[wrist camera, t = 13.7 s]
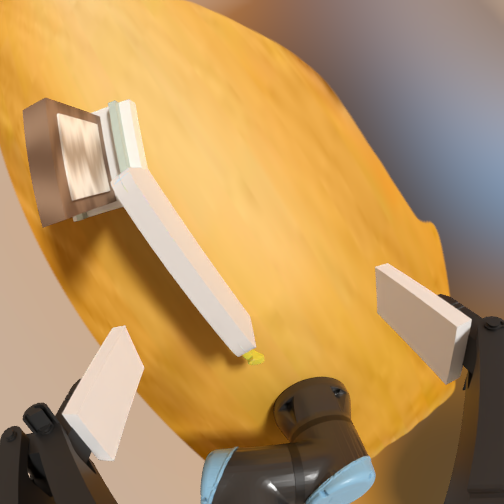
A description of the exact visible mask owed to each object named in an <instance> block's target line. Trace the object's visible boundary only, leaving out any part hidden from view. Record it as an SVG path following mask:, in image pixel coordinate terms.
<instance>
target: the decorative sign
mask: <svg viewBox="0 0 504 504" xmlns="http://www.w3.org/2000/svg"><path fill="white" fill-rule="evenodd" d="M110 183H111V186H112V188H113V190H114V192H115V194H116V195H117V197H118V199H119V200H120V202H121V203H122V205H123V206H124V208H125V209H126V211H127V212H128V214H129V215H130V217H131V218H132V220H133V221H134V223H135V224H136V226H137V227H138V229H139V230H140V232H141V233H142V235H143V236H144V237H145V239H146V240H147V242H148V243H149V245H150V246H151V247H152V249H153V250H154V252H155V253H156V254H157V256H158V257H159V259H160V260H161V261H162V263H163V264H164V266H165V267H166V268H167V270H168V271H169V272H170V274H171V275H172V276H173V278H174V279H175V280H176V282H177V283H178V284H179V286H180V287H181V288H182V290H183V291H184V292H185V294H186V295H187V296H188V298H189V299H190V300H191V301H192V303H193V304H194V305H195V307H196V308H197V309H198V310H199V312H200V313H201V314H202V315H203V317H204V318H205V319H206V320H207V322H208V323H209V324H210V325H211V327H212V328H213V329H214V330H215V332H216V333H217V334H218V335H219V337H220V338H221V339H222V340H223V341H224V343H225V344H226V345H227V346H228V347H229V349H230V350H231V351H232V352H233V353H234V354H235V355H236V356H238V357H240V356H241V355H242V356H243V357H244V358H245V359H247V360H248V364H250V365H257V364H261V363H263V362H264V355H263V354H261V353H258V352H256V351H255V350H254V348H256V343H255V338H254V333H253V328H252V323H251V318H250V316H249V314H248V313H247V312H246V310H245V309H244V307H243V306H242V305H241V303H240V302H239V301H238V299H237V298H236V296H235V295H234V294H233V292H232V291H231V290H230V288H229V287H228V285H227V284H226V283H225V281H224V280H223V278H222V277H221V276H220V274H219V273H218V271H217V270H216V269H215V267H214V266H213V264H212V263H211V261H210V260H209V259H208V257H207V256H206V254H205V253H204V252H203V250H202V249H201V247H200V246H199V244H198V243H197V241H196V240H195V239H194V237H193V236H192V234H191V233H190V231H189V230H188V228H187V227H186V225H185V224H184V223H183V221H182V220H181V218H180V217H179V215H178V214H177V212H176V211H175V209H174V208H173V206H172V205H171V203H170V202H169V200H168V199H167V197H166V196H165V194H164V193H163V191H162V190H161V188H160V187H159V185H158V184H157V182H156V181H155V179H154V178H153V176H152V175H151V173H150V171H149V170H148V169H142V168H132V167H129V168H127V169H126V170H125V171H123V172H122V173H121V174H120V175H118V176H117V177H116V178H114V179H113V180H112V181H111V182H110Z"/></svg>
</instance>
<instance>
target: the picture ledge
mask: <svg viewBox="0 0 504 504" xmlns="http://www.w3.org/2000/svg"><path fill="white" fill-rule="evenodd" d="M92 114H94V115H97V116H100V120H101V126H102V132H103V138H104V144H105V149H106V154H107V159H108V164H109V169H110V174H111V178H112V180H113V179H114V178H116V177H117V176H118V175H120V174H121V173H122V172H123V171H125V170H126V169H127V168H129V167H132V168H142V169H148V167H147V163H146V158H145V153H144V148H143V143H142V138H141V133H140V127H139V122H138V116H137V110H136V104H135V103H134V102H132V101H131V100H129V99H128V100H125V101H122V102H119V103H118V102H117V101H112V102H110V103H108V107H106V108H103V109H100V110H98V111H95V112H93V113H92ZM115 196H116V200H117V201H115V202H112V203H109V204H106V205H104V206H101V207H98V208H95V209H92V210H90V211H87V212H84V213H82V214H79V215H76V216H74V217H73V221H74V222H75V221H80V220H83V219H85V218H88V217H91V216H94V215H97V214H101V213H104V212H107V211H111V210H114V209H117V208H121V207H124V206H123V205H122V203H121V202H120V200H119V199H118V197H117V195H116V194H115Z"/></svg>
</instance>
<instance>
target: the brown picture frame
mask: <svg viewBox="0 0 504 504" xmlns="http://www.w3.org/2000/svg"><path fill="white" fill-rule="evenodd" d="M23 120H24V130H25V139H26V147H27V154H28V161H29V167H30V173H31V178H32V184H33V189H34V193H35V198H36V202H37V207H38V211H39V215H40V219H41V223H42V226H43V227H46V226H49V225H52V224H54V223H57V222H60V221H63V220H66V219H68V218H71V217H74V216H76V215H79V214H82V213H84V212H87V211H90V210H92V209H95V208H98V207H101V206H104V205H106V204H109V203H112V202H115V201H117V200H116V196H115V192H114V190H113V188H112V186H111V183H110V182H111V181H112V178H111V174H110V169H109V164H108V159H107V154H106V149H105V144H104V138H103V132H102V126H101V120H100V116H97V115H94V114H92V113H89V112H86V111H83V110H80V109H77V108H75V107H72V106H69V105H66V104H63V103H60V102H57V101H54V100H51V99H48V98H44V99H42V100H40V101H38V102H37V103H35V104H33V105H31V106H29V107H28V108H26V109H24V110H23Z"/></svg>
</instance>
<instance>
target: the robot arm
mask: <svg viewBox="0 0 504 504" xmlns="http://www.w3.org/2000/svg"><path fill="white" fill-rule="evenodd" d="M375 272H376V289H377V313H378V314H379V315H380V316H381V317H382V318H383V319H384V320H385V321H386V322H387V323H388V324H389V325H390V326H391V327H392V328H393V329H394V330H395V331H396V332H397V333H398V335H399V336H400V337H401V338H402V339H403V340H404V341H405V342H406V343H407V344H408V345H409V346H410V347H411V348H412V349H413V350H414V351H415V352H416V353H417V354H418V355H419V356H420V357H421V358H422V360H423V361H424V362H425V363H426V364H427V365H428V366H429V367H430V368H431V369H432V370H433V371H434V372H435V373H436V374H437V376H438V377H439V378H440V379H441V380H442V381H443V382H444V383H445V384H448V383H450V382H452V381H454V380H455V379H457V378H459V377H460V375H461V371H462V367H463V366H464V367H465V368H466V369H467V370H468V373H467V377H466V380H465V384H464V387H463V390H465V389H466V390H465V403H464V411H463V419H462V426H461V432H460V438H459V444H458V450H457V455H456V459H455V464H454V468H453V472H452V477H451V480H450V485H449V488H448V491H447V495H446V498H445V502H444V504H504V320H502V319H501V318H498V317H493V316H491V317H485V318H483V319H482V318H481V317H480V316H478V315H477V314H475V313H474V312H472V311H471V310H469V309H468V308H466V307H464V306H463V305H462V304H460V303H458V302H457V301H456V300H454V299H453V298H451V297H449V296H446V295H442V294H439V295H436V294H434V293H433V292H431V291H430V290H428V289H427V288H425V287H424V286H422V285H421V284H419V283H418V282H416V281H415V280H413V279H411V278H410V277H408V276H407V275H405V274H404V273H402V272H401V271H399V270H397V269H396V268H394V267H393V266H391V265H389V264H388V263H387V264H384V265H380V266H377V267H375ZM143 370H144V366H143V364H142V362H141V360H140V358H139V355H138V353H137V351H136V349H135V347H134V345H133V342H132V340H131V338H130V336H129V333H128V331H127V329H126V327H125V326H119V327H114V328H112V330H111V331H110V333H109V334H108V336H107V338H106V339H105V341H104V342H103V344H102V346H101V347H100V349H99V350H98V352H97V354H96V355H95V357H94V359H93V360H92V362H91V364H90V366H89V367H88V369H87V370H86V372H85V374H84V376H83V377H82V379H79V380H78V381H77V382H76V383H75V384H74V385H73V386H72V388H71V389H70V391H69V394H68V395H67V396H66V398H65V401H63V403H62V405H61V407H60V408H59V410H58V412H57V414H56V416H54V414H53V413H52V412H51V410H50V409H49V408H48V406H47V405H46V404H45V403H37V404H34V405H32V406H31V407H29V408H28V409H27V410H26V411H25V413H24V415H23V421H24V422H25V423H26V425H27V426H28V427H29V428H30V430H31V431H32V432H33V433H31V434H25V433H24V432H23V431H22V430H21V428H20V427H17V426H12V427H10V428H8V429H7V430H5V431H4V433H3V434H2V436H1V439H0V504H118V503H117V502H116V500H115V499H114V497H113V496H112V494H111V492H110V491H109V489H108V487H107V486H106V484H105V482H104V481H103V479H102V477H101V476H100V474H99V472H98V471H97V469H96V467H95V465H94V463H93V462H92V461H91V460H90V459H89V456H90V454H91V452H92V453H93V454H94V455H95V456H96V457H97V458H98V460H107V461H114V460H115V457H116V453H117V450H118V446H119V443H120V440H121V436H122V433H123V430H124V427H125V424H126V420H127V417H128V414H129V411H130V408H131V405H132V402H133V399H134V396H135V393H136V390H137V387H138V384H139V381H140V378H141V376H142V373H143ZM274 417H275V421H276V424H277V426H278V427H279V428H280V430H281V431H282V432H283V434H284V435H285V436H286V438H287V439H288V440H289V441H290V443H287V444H277V445H268V446H257V447H234V448H227V449H216V450H213V451H212V452H210V453H209V454H208V456H207V458H206V460H205V463H204V467H203V472H202V479H201V504H349V503H351V502H353V501H355V500H356V499H357V498H359V497H360V496H362V495H363V494H364V493H365V492H366V491H367V490H368V489H369V488H370V487H371V485H372V484H373V482H374V480H375V472H374V469H373V466H372V463H371V458H370V456H368V454H367V452H366V450H365V448H364V446H363V443H362V441H361V439H360V437H359V435H358V433H357V431H356V429H355V427H354V425H353V423H352V421H351V403H350V396H349V393H348V392H347V390H346V388H345V386H344V385H343V384H342V383H341V382H340V381H338V380H336V379H333V378H329V377H315V378H310V379H306V380H303V381H300V382H298V383H296V384H294V385H292V386H291V387H289V388H288V389H286V390H285V391H284V392H283V393H282V394H281V395H280V396H279V397H278V399H277V400H276V402H275V405H274ZM28 473H29V474H30V477H29V475H28Z"/></svg>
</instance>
